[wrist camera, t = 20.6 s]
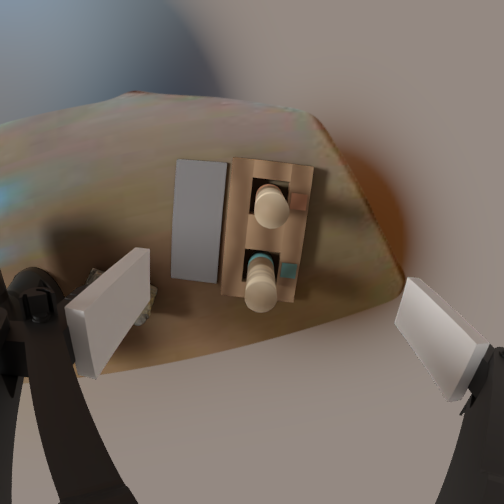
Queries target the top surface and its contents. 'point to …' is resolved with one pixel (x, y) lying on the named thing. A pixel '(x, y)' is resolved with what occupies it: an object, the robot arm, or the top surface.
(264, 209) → the peg
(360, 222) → the top surface
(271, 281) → the peg
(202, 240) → the mat
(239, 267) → the socket board
